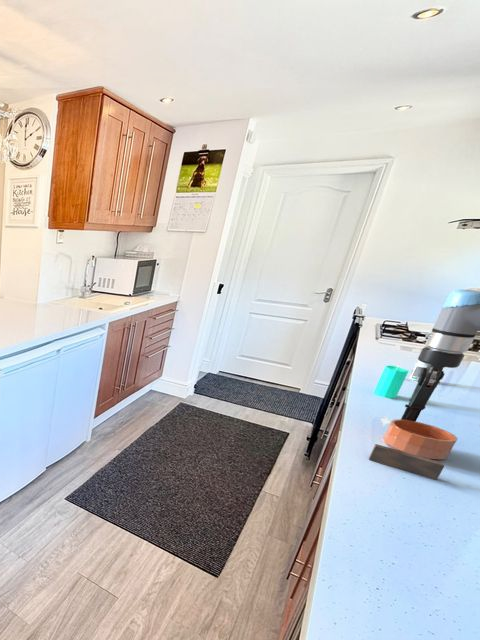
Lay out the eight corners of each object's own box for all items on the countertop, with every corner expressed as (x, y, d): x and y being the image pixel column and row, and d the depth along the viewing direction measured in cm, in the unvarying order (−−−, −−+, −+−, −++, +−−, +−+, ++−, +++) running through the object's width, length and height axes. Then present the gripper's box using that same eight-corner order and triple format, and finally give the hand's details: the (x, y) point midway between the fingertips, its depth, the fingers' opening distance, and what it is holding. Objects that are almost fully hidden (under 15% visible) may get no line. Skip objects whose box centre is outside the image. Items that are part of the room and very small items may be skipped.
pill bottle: (428, 382, 162) (437, 362, 159) (412, 380, 164) (422, 361, 161) (420, 378, 166) (430, 359, 163) (406, 377, 168) (415, 357, 165)
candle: (369, 390, 151) (383, 360, 146) (389, 393, 149) (403, 362, 145) (379, 396, 145) (394, 365, 141) (400, 399, 144) (415, 368, 139)
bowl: (435, 446, 112) (445, 427, 109) (454, 466, 102) (466, 446, 100) (376, 433, 117) (385, 415, 115) (389, 451, 108) (399, 432, 105)
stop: (435, 477, 97) (443, 463, 95) (436, 480, 96) (444, 466, 94) (369, 456, 105) (375, 443, 103) (368, 459, 103) (375, 446, 102)
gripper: (422, 342, 113) (386, 417, 121) (424, 350, 104) (385, 430, 113) (463, 348, 108) (422, 426, 117) (468, 358, 99) (423, 441, 108)
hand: (404, 428), depth 115 cm, fingers closed
